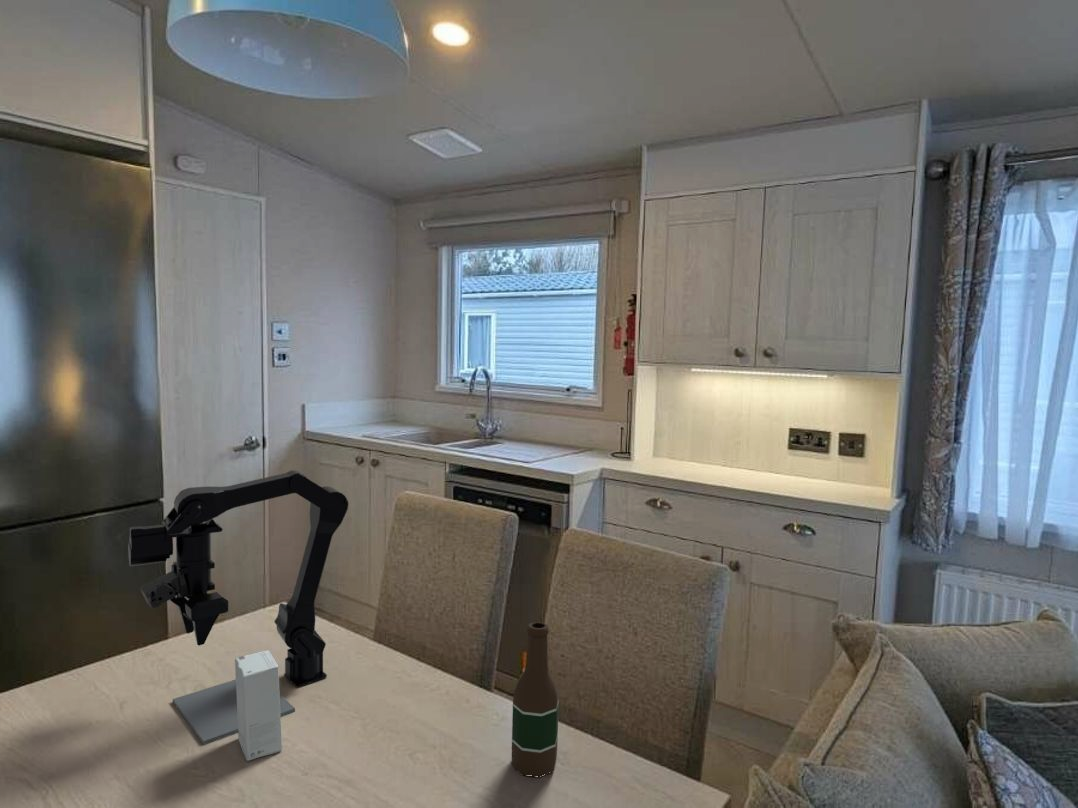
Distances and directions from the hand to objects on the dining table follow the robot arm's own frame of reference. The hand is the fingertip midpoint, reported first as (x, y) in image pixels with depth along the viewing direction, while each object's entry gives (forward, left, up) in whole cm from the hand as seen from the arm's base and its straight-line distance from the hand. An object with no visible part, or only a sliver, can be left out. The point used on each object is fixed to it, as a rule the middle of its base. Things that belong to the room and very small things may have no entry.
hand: (194, 638), depth 126 cm
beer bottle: (-36, +55, -13) cm, 67 cm away
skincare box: (-4, +20, -13) cm, 24 cm away
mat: (-5, +5, -13) cm, 15 cm away
